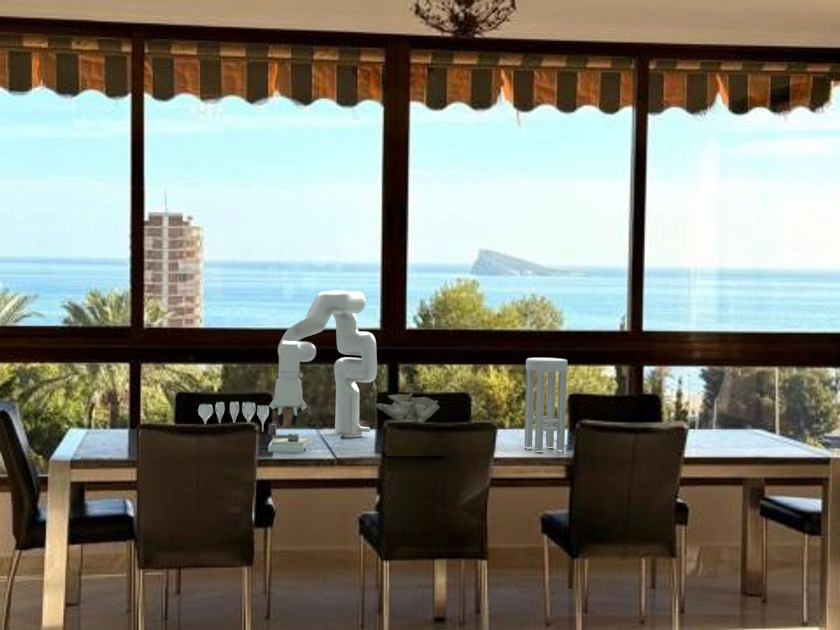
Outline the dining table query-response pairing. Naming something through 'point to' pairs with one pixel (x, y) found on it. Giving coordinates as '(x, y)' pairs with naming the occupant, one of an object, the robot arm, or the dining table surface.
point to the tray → (286, 447)
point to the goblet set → (234, 411)
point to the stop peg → (287, 418)
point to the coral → (409, 408)
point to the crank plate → (287, 440)
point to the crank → (290, 437)
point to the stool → (551, 367)
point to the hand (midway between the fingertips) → (287, 425)
